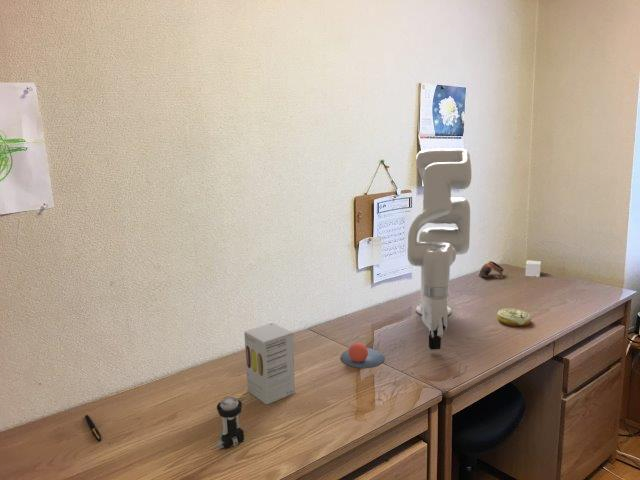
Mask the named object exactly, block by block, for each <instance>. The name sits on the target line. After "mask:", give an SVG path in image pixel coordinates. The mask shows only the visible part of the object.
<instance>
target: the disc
mask: <svg viewBox="0 0 640 480" xmlns="http://www.w3.org/2000/svg"><path fill="white" fill-rule="evenodd" d="M366 348H367V350H368V355H367V358H366V359H365V360H364V361H363V362H360V363H357V362H354V361H352V360H351V358H350V357H349V349H348V350H347V349H346V350H345V351H344V352H342V353H341V354H340V360H341V362H342V363H343V364H345V365H347V366H350V367H352V368H358V369H367V368H374V367H378V366H379V365H381V364H382V363H384V362H385V355H384V354H383V353H382V352H381V351H379V350H376V349H373V348H369V347H366Z"/></svg>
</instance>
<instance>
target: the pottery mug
mask: <svg viewBox="0 0 640 480" xmlns="http://www.w3.org/2000/svg"><path fill="white" fill-rule="evenodd" d="M492 270H493V271H495V272H497V273H498V274H499V275H498V279H501V278H502V277H503V272H504V268H503V267H502V266H501V265H499V264H498V263H496V262H495V261H492V260H490V261H488V262H487V263H485V264H484V263H483V265H482V266H481V268H480V272H479V273H478V275H479V277H480V278H481V279H482V278H483V277H484V278H489V275H490V274H491V272H492Z"/></svg>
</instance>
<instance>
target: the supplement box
mask: <svg viewBox="0 0 640 480" xmlns="http://www.w3.org/2000/svg"><path fill="white" fill-rule="evenodd" d="M243 336H244V350H245V364H246V365H245V369H246V386H247V388H246V389H247V392H249V394H251V395H252V396H254V397H255V398H257V399H258V400H259V401H261V402H262V403H263V404H265V405H269V404H272V403H273V402H276V401H279V400H281V399H283V398H286V397H289V396H290V395H292V394H295V393H296V376H295V375H296V374H295V373H296V371H295V349H294V348H295V347H294V332H293V331H290V330H288V329H286V328H284V327H282V326H280V325H278V324H276V323H274V322H272V323H271V322H270V323H267V324H265V325H262V326H261V325H260V326H258V327H254V328H252V329H251V328H250V329H248V330H244V334H243Z"/></svg>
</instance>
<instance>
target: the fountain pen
mask: <svg viewBox="0 0 640 480" xmlns="http://www.w3.org/2000/svg"><path fill="white" fill-rule="evenodd" d="M84 418H85V421H86V422H87V424H88V426H89V429H90V430H91V434H92V435H93V436H94V438H95V440H97V441H98V442H101V441H102V435H101V433H100V431H99V429H98V428H97V427H96V425H95V423H94V422H93V420H92V419H91V417H90V416H89V415H88V414H87V413H84Z"/></svg>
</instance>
